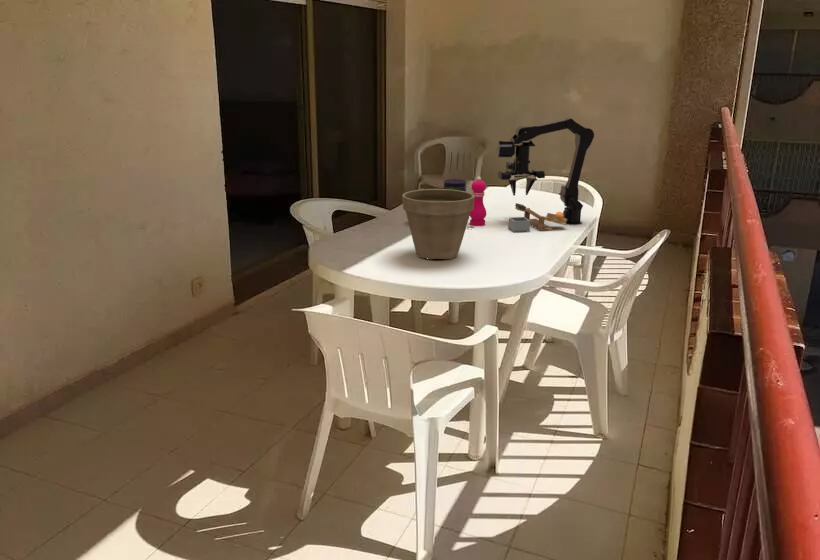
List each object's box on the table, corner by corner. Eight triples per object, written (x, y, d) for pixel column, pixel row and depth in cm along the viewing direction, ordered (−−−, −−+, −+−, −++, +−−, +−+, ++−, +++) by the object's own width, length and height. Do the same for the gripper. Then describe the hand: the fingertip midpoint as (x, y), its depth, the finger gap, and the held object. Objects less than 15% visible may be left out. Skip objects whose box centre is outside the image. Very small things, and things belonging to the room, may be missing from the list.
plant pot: (431, 241, 252) (432, 184, 245) (486, 253, 237) (488, 193, 230) (387, 256, 233) (387, 195, 226) (444, 269, 218) (445, 205, 212)
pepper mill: (485, 226, 274) (487, 178, 268) (467, 225, 275) (469, 177, 269) (486, 222, 281) (488, 175, 274) (469, 221, 282) (471, 174, 276)
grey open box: (523, 227, 272) (524, 216, 271) (529, 231, 266) (530, 220, 265) (508, 228, 271) (508, 217, 270) (513, 232, 265) (514, 221, 263)
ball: (558, 220, 273) (563, 213, 272) (562, 222, 269) (566, 214, 269) (551, 217, 271) (556, 209, 271) (555, 219, 268) (559, 211, 268)
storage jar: (465, 212, 299) (466, 179, 294) (465, 217, 290) (466, 183, 285) (443, 211, 300) (444, 179, 295) (442, 216, 291) (443, 182, 286)
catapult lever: (549, 216, 284) (551, 210, 283) (565, 225, 268) (567, 219, 268) (514, 208, 279) (516, 202, 279) (528, 216, 264) (530, 210, 264)
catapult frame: (535, 220, 284) (536, 207, 283) (552, 230, 268) (553, 217, 266) (523, 221, 283) (524, 208, 282) (539, 231, 267) (540, 217, 265)
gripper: (536, 154, 280) (534, 190, 285) (494, 155, 276) (492, 192, 281) (546, 157, 270) (544, 195, 275) (502, 159, 266) (501, 197, 271)
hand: (520, 195), depth 276 cm, fingers open, 5 cm apart
